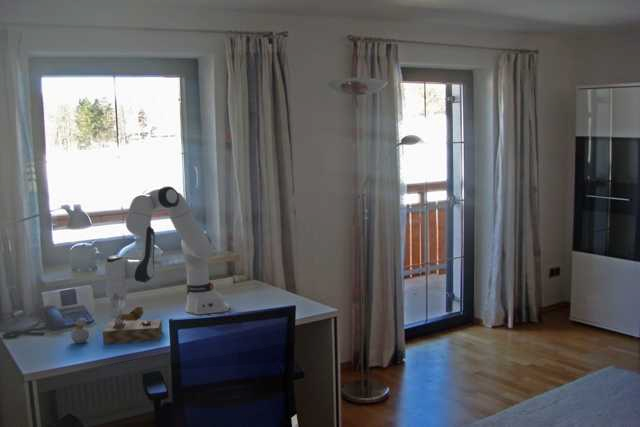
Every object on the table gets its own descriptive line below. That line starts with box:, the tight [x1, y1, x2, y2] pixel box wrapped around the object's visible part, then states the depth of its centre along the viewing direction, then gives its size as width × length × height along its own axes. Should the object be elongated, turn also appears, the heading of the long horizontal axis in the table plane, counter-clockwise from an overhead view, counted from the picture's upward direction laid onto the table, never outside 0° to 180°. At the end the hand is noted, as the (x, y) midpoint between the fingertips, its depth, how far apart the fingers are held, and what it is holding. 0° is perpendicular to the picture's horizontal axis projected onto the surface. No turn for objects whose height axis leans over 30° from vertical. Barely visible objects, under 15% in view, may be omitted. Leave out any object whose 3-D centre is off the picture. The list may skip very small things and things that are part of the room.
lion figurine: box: [121, 305, 144, 321], centre depth 317 cm, size 15×5×9 cm, turn 118°
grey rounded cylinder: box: [113, 320, 125, 328], centre depth 298 cm, size 4×4×6 cm
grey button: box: [141, 321, 152, 326], centre depth 300 cm, size 4×4×6 cm
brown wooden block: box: [102, 318, 163, 346], centre depth 299 cm, size 24×14×6 cm, turn 98°
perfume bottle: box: [70, 316, 90, 344], centre depth 294 cm, size 8×10×12 cm
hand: (118, 321), depth 298 cm, fingers closed, pressing on grey rounded cylinder
